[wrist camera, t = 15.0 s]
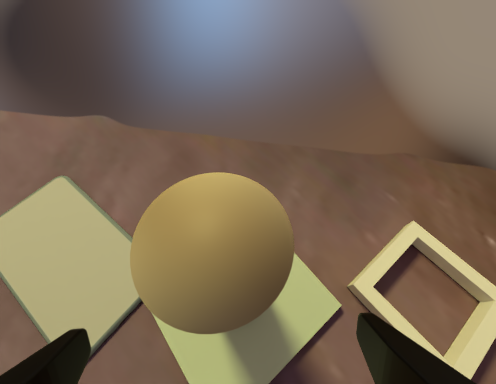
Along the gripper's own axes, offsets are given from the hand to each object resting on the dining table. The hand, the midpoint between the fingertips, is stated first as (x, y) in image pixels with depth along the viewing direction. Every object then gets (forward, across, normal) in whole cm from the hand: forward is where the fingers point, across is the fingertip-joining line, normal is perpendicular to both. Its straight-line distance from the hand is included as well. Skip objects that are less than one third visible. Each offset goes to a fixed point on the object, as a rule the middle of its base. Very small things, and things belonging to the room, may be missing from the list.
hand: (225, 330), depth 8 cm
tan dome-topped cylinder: (+8, 0, +5) cm, 10 cm away
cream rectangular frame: (+8, -14, +6) cm, 18 cm away
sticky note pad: (+12, +14, +4) cm, 18 cm away
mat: (+9, 0, +6) cm, 10 cm away
